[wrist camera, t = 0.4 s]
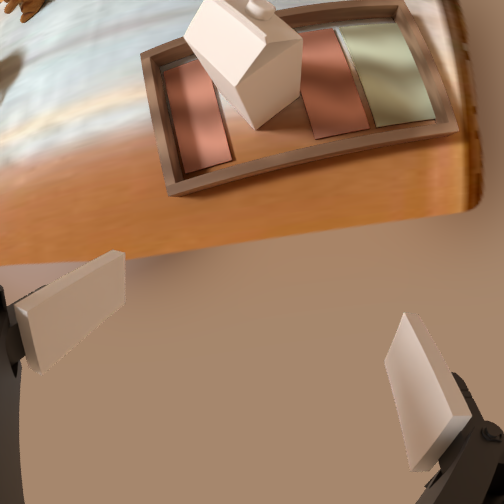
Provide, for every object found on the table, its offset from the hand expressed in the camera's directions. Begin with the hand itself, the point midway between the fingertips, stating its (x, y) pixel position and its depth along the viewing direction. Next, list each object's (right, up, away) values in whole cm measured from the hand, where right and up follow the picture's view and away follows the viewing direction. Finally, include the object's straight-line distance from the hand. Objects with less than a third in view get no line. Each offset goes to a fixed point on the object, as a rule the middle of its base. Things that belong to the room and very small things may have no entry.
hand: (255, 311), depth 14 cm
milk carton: (+1, +22, +22) cm, 31 cm away
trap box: (+6, +23, +21) cm, 32 cm away
